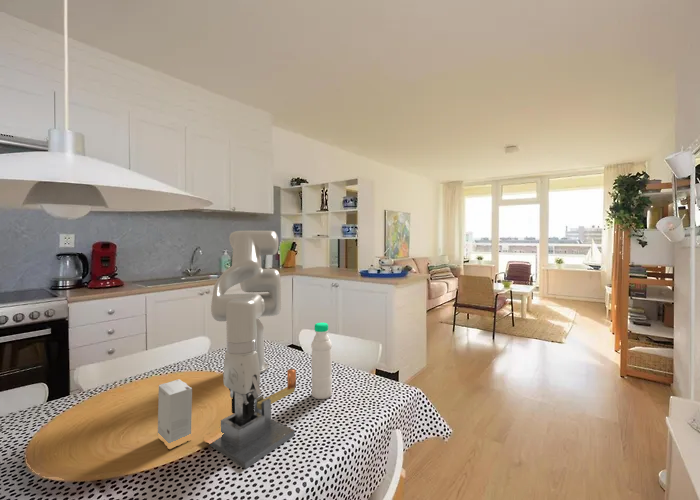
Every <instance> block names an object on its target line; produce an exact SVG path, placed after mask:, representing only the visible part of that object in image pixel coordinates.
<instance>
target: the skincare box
mask: <svg viewBox="0 0 700 500" xmlns="http://www.w3.org/2000/svg"><path fill="white" fill-rule="evenodd" d="M192 404H193V388H192V387H190V386H189V385H188V384H187V382H184V381H182V380H181V379H180V378H178V379H175V380H172V381H168V382H166V383H165V382H163V383H161V384H159V385H158V403H157V405H158V408H157V409H158V410H157V434H158V433H159V434H160V435H161V436H162V437H163V438H164V439H165V440H166V441H167V442H168V443H171V442H173V441H176V440H178V439H180V438H182V437H185V436H187V435H189V434H191V435H192V414H193V413H192V411H193V410H192V409H193V408H192V406H193V405H192Z"/></svg>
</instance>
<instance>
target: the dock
mask: <svg viewBox="0 0 700 500" xmlns="http://www.w3.org/2000/svg"><path fill="white" fill-rule="evenodd" d="M263 399H264V395H260V396H258V397H257V398H256V400H255V401H254V415H252V416H251V421H250V422H248V423H246V424H245V425H243V426H241V427H240V426H238V425H236V424H235V413H234V414H233V413H232V414H231V415H228V416H227V417H225V418H222V419H221V420H220V427H221V432H222V433H224V434H223V435H222V437H221V438H219V439H218V440H216V441H215V442H213V443H212V444H210V445H209V447H211V448H213V450H216V451H218V453H220V454H222V455H223V456H225V457H226V458H228V459H229V460H231V461H232V462H234V463H235V464H237V465H239V467H241V468H243V469H244V470H246V469H248V468H249V467H251V466H252V465H254V464H255V463H257V462H258V461H259V460H261V459H262V458H264V457H265V456H267V455H268V454H270V453H271V452H272V451H274V450H276V449H277V448H279V447H280V446H281V445H283V444H284V443H286V442H287V441H289V440H290V439H291V438H293V437H294V436H295V429H293V428H291V427H289V426H287V425H285V424H282V422H279V421H277V420H274V419H272V404H271V399H267V400H265V401H263V402H262V409H261V410H260V409H258V408H257V402H259V401H261V400H263Z"/></svg>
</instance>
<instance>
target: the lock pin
mask: <svg viewBox="0 0 700 500" xmlns="http://www.w3.org/2000/svg"><path fill="white" fill-rule="evenodd" d="M286 377H287V380H286V381H287V387H285V388H282V389H281V390H279V391H277V392H274V393H273V394H271V395H269V396H267V397H265V398H263V400H261V401H259V402H257V408H258V409H260V410H261V409H262V402H263V401H265V400H267V399H271V405H272V404H274V403H277V402H278V401H280V400H281V399H283V398H286V397H288V396H289V395H291V394H292V393H295V388H296V387H297V369H296V368H289V369H288V370H287V376H286Z"/></svg>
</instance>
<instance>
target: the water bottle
mask: <svg viewBox="0 0 700 500" xmlns="http://www.w3.org/2000/svg"><path fill="white" fill-rule="evenodd" d="M328 331H329V324H328V323H327V322H316V323H314V332H315V335H314V336H313V339H312V341H311V344H310V345H311V347H310V348H311V373H312V374H311V395H312V397H313V398H314V399H317V400H325V399H328V398H330V397H331V396H332V395H333V386H332V383H333V376H332V369H333V366H332V365H333V358H332V355H333V354H332V352H333V351H332V347H333V346H332V345H333V344H332V340H331V339H330V336H329V335H328Z"/></svg>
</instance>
